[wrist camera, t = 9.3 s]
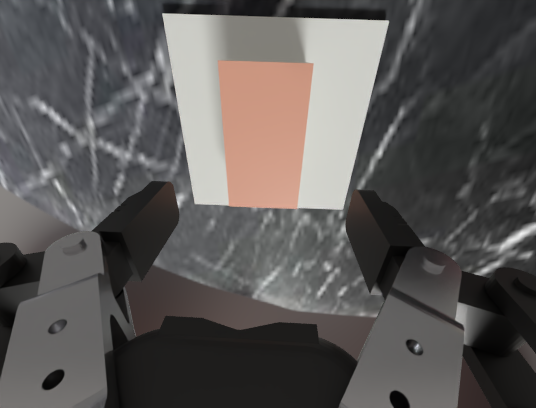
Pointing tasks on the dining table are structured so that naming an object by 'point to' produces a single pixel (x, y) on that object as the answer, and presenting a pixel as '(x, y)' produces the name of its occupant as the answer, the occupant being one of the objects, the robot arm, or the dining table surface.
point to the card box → (264, 130)
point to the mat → (286, 50)
